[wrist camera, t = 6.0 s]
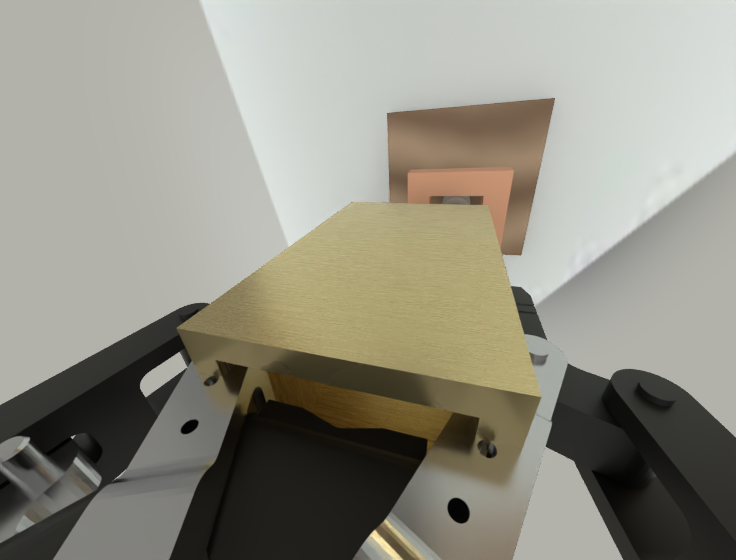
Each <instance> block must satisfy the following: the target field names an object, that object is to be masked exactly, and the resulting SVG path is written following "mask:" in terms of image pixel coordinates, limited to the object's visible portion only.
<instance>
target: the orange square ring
mask: <svg viewBox="0 0 736 560" xmlns="http://www.w3.org/2000/svg"><path fill="white" fill-rule="evenodd" d="M513 173H514V170H513V169H512V168H511V167H482V168H449V169H415V170H410V171H409V172H408V203H412V204H432V196H482V200H481V205H488V206H489V210H490V213H491V217H492V221H493V224H494V228H495V231H496V235H497V239H498V242H499V246H500V248H501V243H502V237H503V231H504V225H505V220H506V214H507V208H508V202H509V197H510V191H511V185H512V179H513Z"/></svg>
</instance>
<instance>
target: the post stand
mask: <svg viewBox="0 0 736 560" xmlns="http://www.w3.org/2000/svg"><path fill="white" fill-rule="evenodd" d="M554 100H555V98H551V99H539V100H528V101H517V102H506V103H495V104H484V105H472V106H461V107H450V108H439V109H428V110H416V111H405V112H394V113H387V122H388V154H389V186H390V203H408V172H409V171H410V170H415V169H449V168H482V167H511V168H512V169H513V170H514V173H513V179H512V185H511V191H510V197H509V202H508V208H507V214H506V220H505V225H504V231H503V237H502V243H501V248H500V249H501V253H502V254H505V255H521V254H522V249H523V244H524V240H525V235H526V230H527V226H528V221H529V216H530V212H531V207H532V203H533V198H534V193H535V189H536V184H537V179H538V175H539V170H540V165H541V161H542V156H543V151H544V147H545V142H546V137H547V133H548V128H549V124H550V119H551V114H552V110H553V105H554ZM481 200H482V196H432V204H456V205H481Z"/></svg>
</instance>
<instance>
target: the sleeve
mask: <svg viewBox="0 0 736 560" xmlns="http://www.w3.org/2000/svg"><path fill="white" fill-rule="evenodd" d="M177 331H178V333H179V335H180V337H181V339H182V341H183V343H184V345H185V347H186V349H187V352H188V354H189V356H190V358H191V360H192V362H193V364H194V366H195V368H196V370H197V372H201V373H205V374H209V375H213V376H214V377H215V380H216V382H217V381H218V380H219V377H222V378H223V377H224V376H225V375H226V374H227V373H228V372H229V371H230V369H231V368H232V367H233V366H234V365H235V364H236V365H241V366H245V367H250V368H255V369H259V370H264V371H267V374H268V377H269V380H270V383H271V387H272V390H273V393H274V396H275V399H276V401H278V402H282V403H286V404H290V405H294V406H298V407H302V408H304V409H306V410H308V411H309V412H311V413H313V414H314V415H316V416H318V417H319V418H321V419H323V420H325V421H326V422H328V423H330V424H331V425H333V426H335V427H338V428H385V429H389V430H393V431H397V432H401V433H405V434H409V435H413V436H417V437H421V438H425V439H428V443H427V453H428V452H429V450H430V449H431V447H432V446H433V444H434V442H435V441H436V439H437V438H438V436H439V434H440V433H441V431H442V430H443V428H444V427H445V425H446V423H447V422H448V420H449V419H450V417H451V415H452V414H453V412H455V413H460V414H465V415H469V416H474V417H475V438H477V439H481V440H483V443H482V447H481V451H480V453H481V454H482V455H483V456H484V457H486V455H487V451H488V447H489V443H490V442H494V443H498V444H502V445H507V446H511V447H515V448H519V449H523V446H524V443H525V441H526V438H527V435H528V433H529V430H530V427H531V425H532V422H533V419H534V416H535V414H536V411H537V408H538V406H539V403H540V400H541V398H542V397H541V393H540V390H539V386H538V382H537V379H536V375H535V372H534V368H533V364H532V361H531V357H530V354H529V350H528V346H527V343H526V339H525V336H524V332H523V328H522V325H521V321H520V318H519V314H518V310H517V307H516V303H515V300H514V296H513V293H512V289H511V285H510V282H509V278H508V275H507V271H506V267H505V264H504V260H503V257H502V253H501V249H500V246H499V242H498V239H497V235H496V231H495V228H494V224H493V221H492V217H491V213H490V210H489V206H488V205H456V204H412V203H369V202H351V203H350V204H348V205H347V206H346V207H344V208H343V209H341V210H340V211H339V212H337V213H336V214H334V215H333V216H332V217H330V218H329V219H327V220H326V221H325V222H323V223H322V224H320V225H319V226H318V227H316V228H315V229H314V230H312V231H311V232H309V233H308V234H307V235H305V236H304V237H302V238H301V239H300V240H298V241H297V242H295V243H294V244H293V245H291V246H290V247H288V248H287V249H286V250H284V251H283V252H282V253H280V254H279V255H277V256H276V257H275V258H273V259H272V260H270V261H269V262H268V263H266V264H265V265H264V266H262V267H261V268H259V269H258V270H257V271H255V272H254V273H252V274H251V275H250V276H248V277H247V278H245V279H244V280H243V281H241V282H240V283H239V284H237V285H236V286H234V287H233V288H231V289H230V290H229V291H227V292H226V293H224V294H223V295H222V296H220V297H219V298H218V299H216V300H215V301H213V302H212V303H211V304H209V305H208V306H206V307H205V308H204V309H202V310H201V311H199V312H198V313H197V314H195V315H194V316H192V317H191V318H190V319H188V320H187V321H186V322H184V323H183V324H181V325H180V326H179V327H177ZM252 412H259V410H258V407H257V404H256V402H255V399H254V396H253V393H252V396H251V399H250V403H249V406H248V409H247V413H252ZM247 413H246V414H247Z"/></svg>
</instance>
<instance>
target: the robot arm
mask: <svg viewBox="0 0 736 560" xmlns="http://www.w3.org/2000/svg"><path fill="white" fill-rule="evenodd" d="M511 289H512V293H513V296H514V300H515V303H516V307H517V310H518V314H519V318H520V321H521V325H522V328H523V332H524V336H525V339H526V343H527V346H528V350H529V354H530V357H531V361H532V364H533V368H534V372H535V375H536V379H537V382H538V386H539V390H540V393H541V397H542V398H541V400H540V403H539V406H538V408H537V411H536V414H535V416H534V419H533V422H532V425H531V427H530V430H529V433H528V435H527V438H526V441H525V443H524V446H523V449H519V448H515V447H511V446H507V445H502V444H498V443H494V442H490V443H489V447H488V451H487V455H486V457H484V456H483V455H482V454H481V453H480V451H481V447H482V443H483V440H481V439H477V438H475V417H474V416H469V415H465V414H460V413H455V412H453V414H452V415H451V417H450V419H449V420H448V422H447V423H446V425H445V427H444V428H443V430H442V431H441V433H440V434H439V436H438V438H437V439H436V441H435V442H434V444H433V446H432V447H431V449H430V450H429V452H428V453H427V443H428V439H425V438H421V437H417V436H413V435H409V434H405V433H401V432H397V431H393V430H389V429H385V428H338V427H335V426H333V425H331V424H330V423H328V422H326V421H325V420H323V419H321V418H319V417H318V416H316V415H314V414H313V413H311V412H309V411H308V410H306V409H304V408H302V407H298V406H294V405H290V404H286V403H282V402H278V401H276V399H275V396H274V393H273V390H272V387H271V383H270V380H269V377H268V374H267V371H264V370H259V369H255V368H250V367H245V366H241V365H236V364H235V365H234V366H233V367H232V368H231V369H230V371H229V372H228V373H227V374H226V375H225V376H224V377H223V378H222V377H219V380H218V381H217V382H216V380H215V377H214V376H213V375H209V374H205V373H201V372H197V370H196V368H195V366H194V364H193V362H192V360H191V358H190V356H189V354H188V352H187V349H186V347H185V345H184V343H183V341H182V339H181V337H180V335H179V333H178V331H177V327H179V326H180V325H181V324H183V323H184V322H186V321H187V320H188V319H190V318H191V317H192V316H194V315H195V314H197V313H198V312H199V311H201V310H202V309H204V308H205V307H206V306H208V305H209V304H208V303H195V304H191V305H187V306H184V307H182V308H179V309H177V310H176V311H174V312H172V313H170V314H168V315H166V316H164V317H163V318H161V319H159V320H157V321H155V322H153V323H151V324H150V325H148V326H146V327H144V328H142V329H140V330H139V331H137V332H135V333H133V334H131V335H129V336H127V337H126V338H124V339H122V340H120V341H118V342H116V343H114V344H113V345H111V346H109V347H107V348H105V349H103V350H101V351H100V352H98V353H96V354H94V355H92V356H90V357H88V358H87V359H85V360H83V361H81V362H79V363H78V364H76V365H74V366H72V367H70V368H68V369H66V370H65V371H63V372H61V373H59V374H57V375H55V376H53V377H51V378H50V379H48V380H46V381H44V382H42V383H41V384H39V385H37V386H35V387H33V388H31V389H29V390H28V391H26V392H24V393H22V394H20V395H18V396H16V397H14V398H13V399H11V400H9V401H7V402H5V403H3V404H1V405H0V560H512V559H513V556H514V552H515V549H516V545H517V542H518V538H519V535H520V531H521V528H522V525H523V521H524V518H525V515H526V511H527V508H528V504H529V501H530V498H531V494H532V491H533V488H534V484H535V481H536V477H537V474H538V470H539V467H540V464H541V460H542V457H543V453H544V450H545V447H548V448H549V449H551V450H553V451H555V452H558V453H559V454H561V455H564V456H565V457H567V458H569V459H571V460H573V461H574V462H575V464H576V467H577V468H578V470H579V472H580V474H581V477H582V479H583V480H584V482H585V484H586V486H587V488H588V490H589V492H590V494H591V496H592V498H593V500H594V502H595V504H596V506H597V508H598V510H599V512H600V514H601V516H602V518H603V520H604V522H605V524H606V526H607V528H608V530H609V532H610V534H611V536H612V538H613V540H614V542H615V544H616V546H617V548H618V550H619V552H620V554H621V555H622V558H623V560H736V437H734V436H733V435H732V434H731V433H730V432H729V431H728V430H727V429H726V428H725V427H724V426H723V425H722V424H721V423H720V422H719V421H718V420H716V419H715V418H714V417H713V416H712V415H711V414H710V413H709V412H708V411H707V410H706V409H705V408H704V407H703V406H702V405H701V404H699V402H697V401H696V400H695V399H694V398H693V397H692V396H691V395H690V394H689V393H688V392H686V391H685V390H684V389H682V388H681V387H679V386H678V385H676V384H674V383H673V382H671V381H669V380H667V379H665V378H662V377H660V376H658V375H655V374H652V373H649V372H645V371H641V370H635V369H623V370H619V371H617V372H615V373H614V374H613V376H612V377H611V379H610V380H608V379H605V378H603V377H600V376H597V375H594V374H591V373H588V372H585V371H583V370H580V369H578V368H576V367H574V366H572V365H570V364H568V361H567V357H566V355H565V354H564V352H563V351H562V350H561V349H560V348H559V347H557V346H556V345H555V344H553V343H552V342H550V341H548V340H547V338H546V336H545V333H544V331H543V328H542V325H541V322H540V320H539V317H538V315H537V312H536V309H535V307H534V304H533V301H532V298H531V296H530V295H529V294H528V293H527V292H526V291H525V290H523V289H522V288H521V287H513V286H511ZM178 352H180V353H181V355H182V357H183V359H184V361H185V363H186V365H187V367H188V368H186V369H185V370H183V371H182V372H181V373H179V374H178V375H176V376H175V377H174V378H172V379H171V380H170V381H168V382H167V383H165V384H164V385H163V386H161V387H160V388H159V389H157V390H156V391H154V392H153V393H152V394H150V395H149V396H148V397H146V398H145V396H144V395H143V393H142V392H141V390H140V382H141V380H142V378H143V377H144V376H145V375H146V374H147V373H148V372H149V371H151V370H152V369H154V368H155V367H157V366H158V365H160V364H162V363H163V362H165V361H166V360H168V359H169V358H171V357H172V356H174V355H175V354H177V353H178ZM252 393H253V396H254V399H255V402H256V404H257V407H258V410H259V412H252V413H247V409H248V406H249V403H250V399H251V396H252ZM246 413H247V414H246ZM74 435H76V436H75V437H74V438H73V439H72V438H71V436H74ZM125 469H126V471H125V472H124V473H123V474H122V476H120V477H119V478H117V479H116V480H114V479H115V478H116V477H117V476H119V475H120V474H121V473H122V472H123V471H124V470H125ZM113 480H114V481H113Z"/></svg>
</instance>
